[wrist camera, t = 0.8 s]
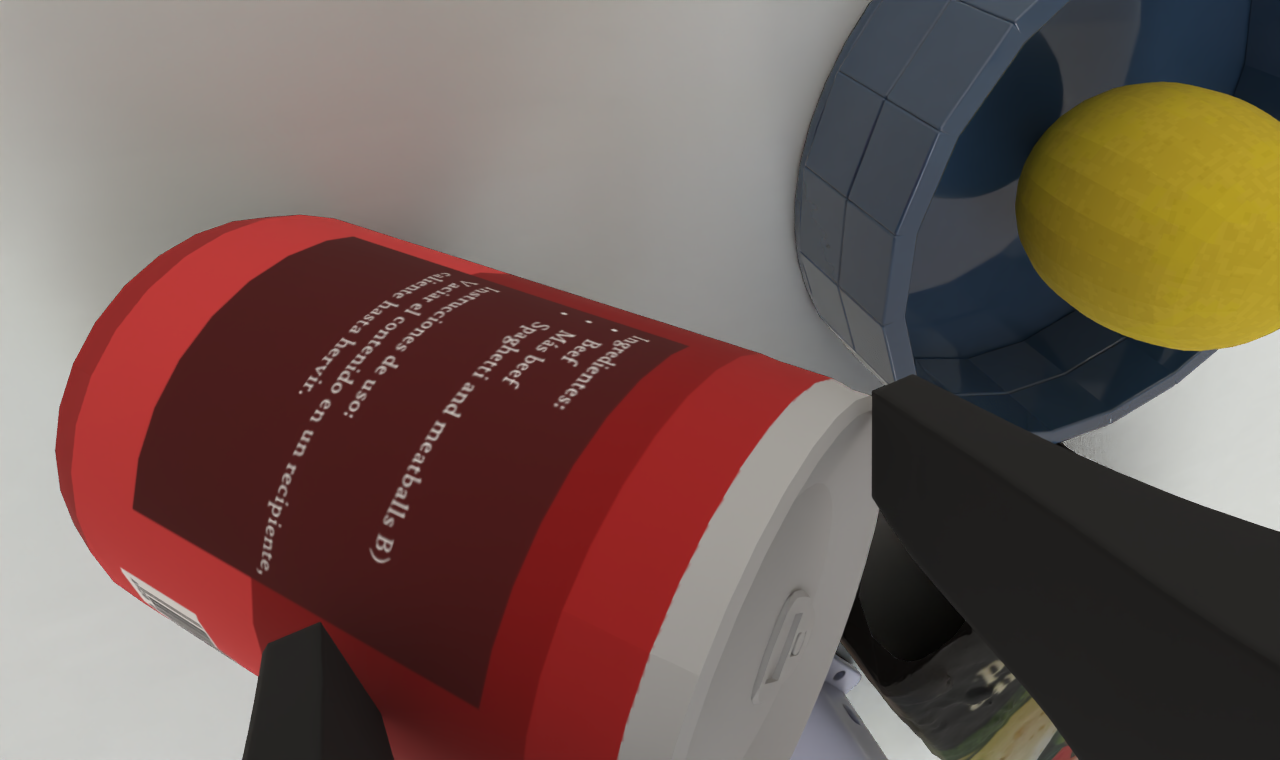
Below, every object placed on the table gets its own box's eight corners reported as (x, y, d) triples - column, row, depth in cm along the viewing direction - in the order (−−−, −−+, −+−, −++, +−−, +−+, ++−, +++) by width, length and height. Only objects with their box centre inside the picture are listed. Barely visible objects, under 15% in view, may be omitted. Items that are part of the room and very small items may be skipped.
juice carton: (1115, 621, 44) (1222, 732, 39) (943, 742, 45) (1029, 865, 40) (1016, 381, 30) (1161, 506, 26) (773, 560, 31) (873, 712, 27)
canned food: (365, 545, 22) (802, 769, 17) (3, 654, 15) (583, 1085, 10) (432, 223, 20) (928, 375, 16) (66, 173, 13) (774, 423, 9)
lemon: (980, 50, 22) (1282, 192, 16) (1158, 31, 24) (1489, 152, 18) (929, 258, 25) (1164, 439, 19) (1089, 228, 27) (1349, 385, 21)
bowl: (1290, 126, 28) (1421, 179, 25) (929, 440, 30) (1011, 524, 27) (1199, -334, 19) (1391, -335, 16) (687, 168, 21) (772, 250, 18)
